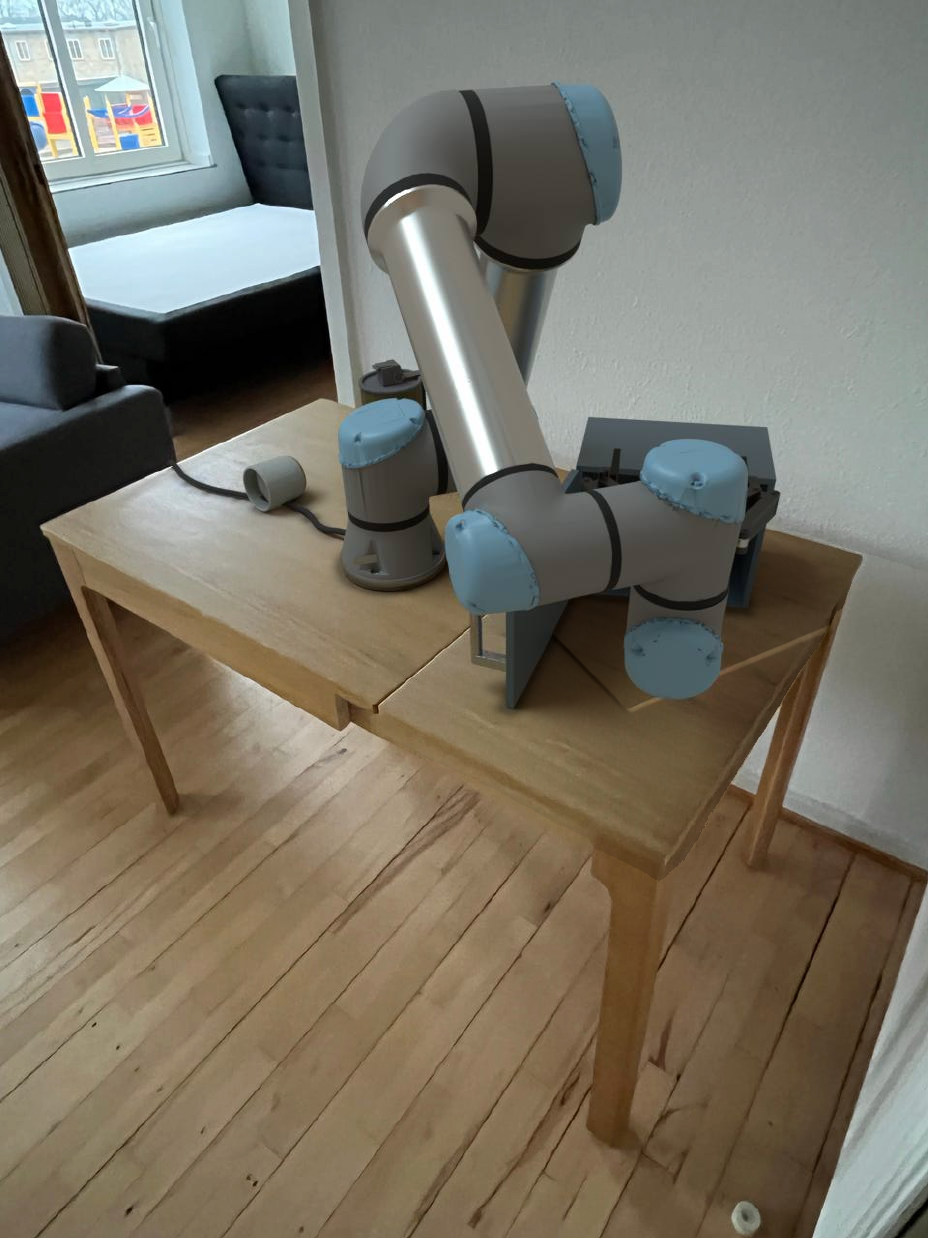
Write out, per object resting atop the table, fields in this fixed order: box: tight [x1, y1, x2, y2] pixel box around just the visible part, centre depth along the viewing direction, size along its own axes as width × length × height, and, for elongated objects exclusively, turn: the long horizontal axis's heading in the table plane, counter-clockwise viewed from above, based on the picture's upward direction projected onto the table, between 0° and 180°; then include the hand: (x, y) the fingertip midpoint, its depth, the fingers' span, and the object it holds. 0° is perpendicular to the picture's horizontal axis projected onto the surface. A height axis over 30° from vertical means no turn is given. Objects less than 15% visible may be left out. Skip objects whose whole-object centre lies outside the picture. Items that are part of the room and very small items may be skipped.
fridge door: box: [468, 468, 579, 709], centre depth 98 cm, size 6×24×19 cm, turn 157°
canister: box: [357, 358, 428, 410], centre depth 136 cm, size 11×10×20 cm
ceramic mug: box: [242, 455, 307, 512], centre depth 135 cm, size 11×8×8 cm
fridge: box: [575, 416, 777, 609], centre depth 110 cm, size 15×24×20 cm, turn 77°
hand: (677, 463), depth 91 cm, fingers open, 13 cm apart
